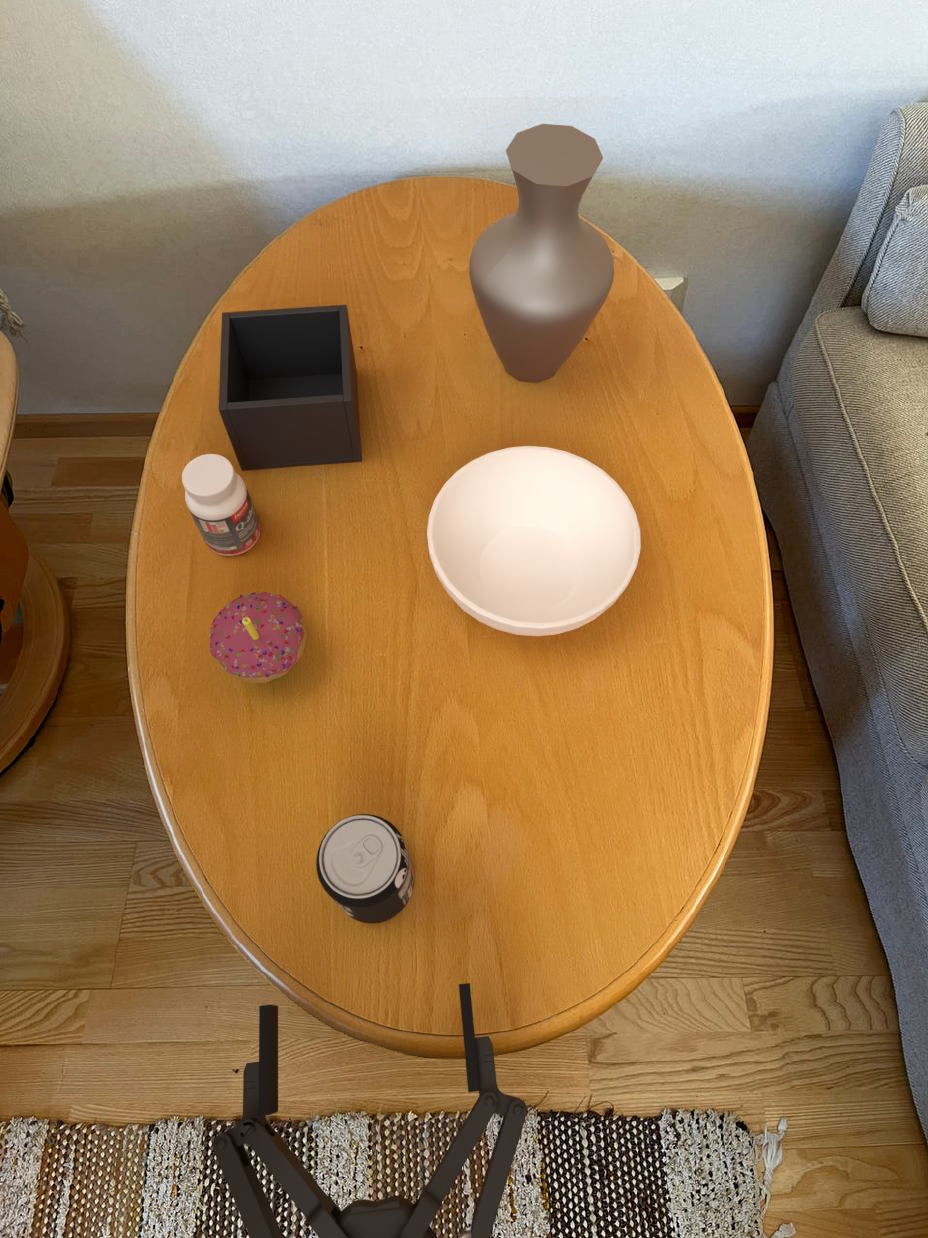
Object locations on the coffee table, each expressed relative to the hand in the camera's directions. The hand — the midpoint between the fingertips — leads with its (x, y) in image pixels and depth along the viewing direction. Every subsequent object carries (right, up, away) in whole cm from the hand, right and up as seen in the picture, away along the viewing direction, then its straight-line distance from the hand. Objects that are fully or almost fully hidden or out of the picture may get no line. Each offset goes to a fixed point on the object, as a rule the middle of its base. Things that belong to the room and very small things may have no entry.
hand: (367, 994), depth 58 cm
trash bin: (-11, +48, +32) cm, 59 cm away
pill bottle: (-16, +35, +26) cm, 46 cm away
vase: (+14, +55, +37) cm, 68 cm away
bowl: (+13, +31, +25) cm, 42 cm away
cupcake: (-12, +23, +20) cm, 32 cm away
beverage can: (-1, +4, +11) cm, 12 cm away
